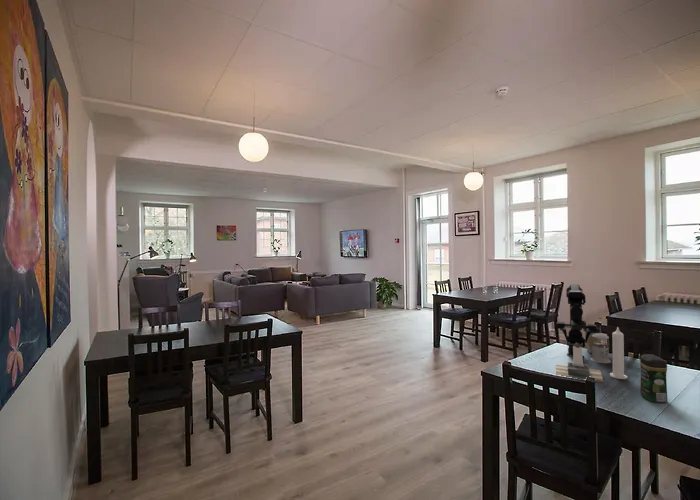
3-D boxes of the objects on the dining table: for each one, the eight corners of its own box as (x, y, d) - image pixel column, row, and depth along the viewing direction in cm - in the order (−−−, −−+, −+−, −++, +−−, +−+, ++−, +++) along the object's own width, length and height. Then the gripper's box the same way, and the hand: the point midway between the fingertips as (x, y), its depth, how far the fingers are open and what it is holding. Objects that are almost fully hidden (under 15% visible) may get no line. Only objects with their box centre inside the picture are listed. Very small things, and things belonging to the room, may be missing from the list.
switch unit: (555, 366, 198) (555, 356, 198) (600, 372, 188) (600, 361, 188) (555, 376, 184) (555, 365, 184) (603, 383, 174) (603, 371, 174)
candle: (630, 379, 178) (629, 328, 177) (614, 378, 179) (613, 328, 179) (622, 374, 185) (622, 325, 184) (607, 373, 186) (606, 325, 185)
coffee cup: (605, 354, 216) (605, 329, 216) (589, 354, 217) (589, 329, 216) (595, 349, 226) (595, 325, 225) (580, 350, 226) (579, 326, 226)
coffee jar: (637, 393, 162) (636, 352, 162) (658, 394, 160) (657, 353, 160) (648, 402, 153) (648, 359, 152) (671, 404, 151) (670, 360, 150)
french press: (586, 359, 209) (585, 316, 208) (598, 356, 214) (598, 313, 213) (604, 364, 200) (603, 319, 199) (616, 360, 205) (616, 316, 204)
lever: (573, 364, 189) (572, 342, 192) (582, 365, 187) (581, 343, 190) (573, 363, 186) (573, 342, 190) (582, 364, 184) (582, 342, 188)
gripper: (556, 315, 196) (556, 343, 197) (597, 318, 187) (598, 348, 187) (556, 311, 206) (556, 338, 206) (596, 314, 196) (596, 342, 197)
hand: (576, 342), depth 199 cm, fingers open, 8 cm apart
